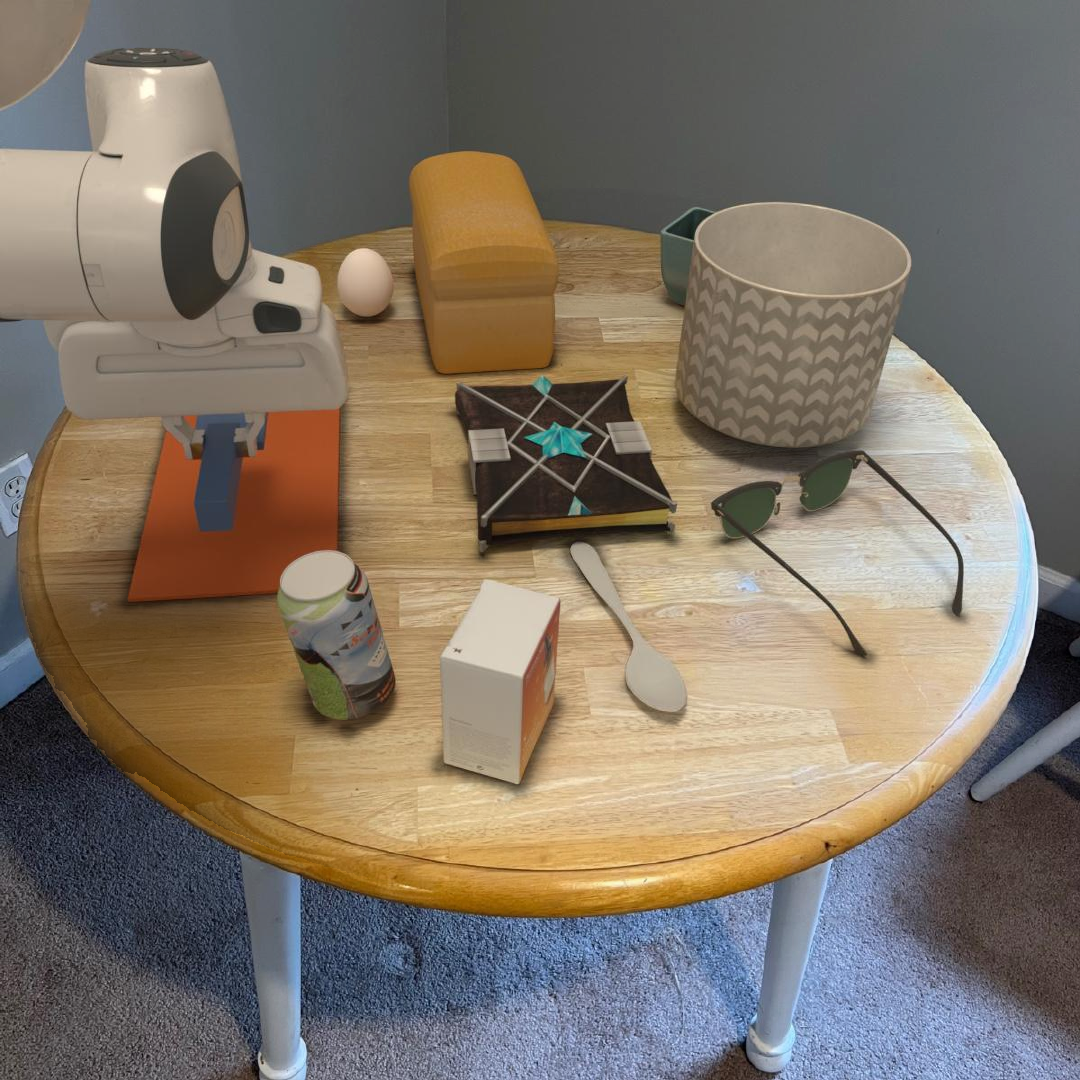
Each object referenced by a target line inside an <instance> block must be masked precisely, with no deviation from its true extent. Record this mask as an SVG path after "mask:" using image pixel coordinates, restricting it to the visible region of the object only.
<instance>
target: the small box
mask: <svg viewBox="0 0 1080 1080" xmlns="http://www.w3.org/2000/svg"><path fill="white" fill-rule="evenodd" d="M561 604H562V603H561V598H560V597H557V596H554V595H550V594H547V593H543V592H539V591H534V590H530V589H527V588H523V587H519V586H515V585H512V584H507V583H504V582H500V581H496V580H493V579H488V578H484V579H483V580H482V582H481V584H480V585H479V588H478V590H477V592H476V594H475V596H474V597H473V599H472V602H471V603H470V605H469V606H468V609H467V610H466V612H465V614H464V616H463V618H461V621H460V623H459V624H458V626H457V628H456V629H455V631H454V634H453V635H452V636H451V637H450V640H449V641H448V643H447V644H446V645H445V647H444V648H443V650H442V651H441V653H440V655H439V669H440V700H441V728H442V730H441V731H442V752H443V753H442V755H443V756H442V757H443V763H444V764H446V765H449V766H453V767H456V768H460V769H464V770H467V771H471V772H474V773H478V774H482V775H485V776H488V777H491V778H495V779H498V780H502V781H505V782H509V783H511V784H512V783H513V784H515V785H519V784H520V783H521V781H522V779H523V776H524V773H525V770H526V769H527V766H528V763H529V761H530V759H531V756H532V754H533V751H534V749H535V747H536V745H537V743H538V740H539V738H540V736H541V733H542V732H543V729H544V727H545V725H546V722H547V720H548V718H549V716H550V714H551V711H552V709H553V706H554V703H555V686H556V672H557V657H558V645H559V644H558V643H559V630H560V629H559V628H560V615H561Z"/></svg>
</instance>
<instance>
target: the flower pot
mask: <svg viewBox="0 0 1080 1080" xmlns="http://www.w3.org/2000/svg"><path fill="white" fill-rule="evenodd" d="M716 212H717V211H714V210H710V209H706V208H703V207H698V206H693V207H691V208H689V209H688V210H687V211H685V212H684V213H682V215H681V216H679V217H678V218H677V219H675V220H674V221H672V222H670V223H669V224H668V225H666V226H665V227H664V228H663V229H661V231H660V273H661V278H662V282H663V285H664V288H665V290H666V292H667V294H668V296H669V298H670V299H671V301H672V302H673V303H674V304H678V305H681V306H683V307H685V302H686V294H687V287H688V280H689V272H690V265H691V258H692V250H693V243H694V236H695V232H696V229H697V228H698V226H699V225H700V223H701V222H702V221H703V220H705V219H706V218H707V217H709V216H711V215H712V214H714V213H716Z"/></svg>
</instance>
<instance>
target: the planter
mask: <svg viewBox="0 0 1080 1080" xmlns="http://www.w3.org/2000/svg"><path fill="white" fill-rule="evenodd" d="M715 212H716V213H714V214H712V215H711V216H709V217H707V218H706V219H705V220H703V221H702V222H701V223H700V225H699V226H698V228H697V229H696V232H695V236H694V243H693V250H692V258H691V265H690V272H689V280H688V287H687V294H686V302H685V306H684V310H683V317H682V325H681V330H680V331H681V332H680V339H679V346H678V353H677V361H676V367H675V369H676V370H675V375H674V376H675V377H674V389H675V392H676V396H677V397H678V399H679V401H680V402H681V404H682V405H683V407H684V408H685V409H686V410H687V411H688V412H689V413H690V414H691V415H692V416H694V417H695V418H696V419H697V420H699V421H700V422H702V423H703V424H704V425H706V426H708V427H709V428H711V429H713V430H715V431H717V432H719V433H721V434H724V435H727V436H729V437H732V438H734V439H737V440H740V441H745V442H748V443H752V444H757V445H762V446H768V447H776V448H813V447H819V446H825V445H828V444H833V443H837V442H840V441H842V440H844V439H846V438H849V437H850V436H852V435H854V434H856V433H857V432H858V431H859V430H860V429H862V428H863V427H864V425H865V424H866V423H867V422H868V420H869V418H870V416H871V413H872V410H873V406H874V403H875V399H876V395H877V391H878V388H879V385H880V380H881V377H882V373H883V370H884V368H885V367H884V366H885V362H886V359H887V354H888V352H889V348H890V346H891V341H892V337H893V334H894V331H895V330H894V329H895V326H896V323H897V319H898V316H899V312H900V307H901V306H902V305H901V304H902V301H903V298H904V294H905V290H906V287H907V284H908V280H909V276H910V272H911V268H912V256H911V254H910V251H909V250H908V248H907V246H906V245H905V243H903V242H902V241H901V239H900V238H899V237H898V236H896V235H894V234H893V233H892V232H891V231H889V230H888V229H886V228H885V227H883V226H881V225H879V224H877V223H875V222H873V221H871V220H869V219H866V218H865V217H864V218H863V217H861V216H859V215H856V214H853V213H850V212H847V211H843V210H839V209H836V208H832V207H828V206H827V207H826V206H821V205H815V204H808V203H799V202H788V201H785V202H784V201H766V202H765V201H763V202H753V203H752V202H751V203H745V204H739V205H735V206H731V207H727V208H724V209H721V210H719V211H715Z"/></svg>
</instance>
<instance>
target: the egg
mask: <svg viewBox="0 0 1080 1080" xmlns="http://www.w3.org/2000/svg"><path fill="white" fill-rule="evenodd" d="M336 279H337V281H336V282H337V283H336V285H337V293H338V296H339V298H340V300H341V303H342V304H343V305H344V306H345V308H347V309H348V311H350V312H351V313H353V314H355V315H357V316H360V317H373V316H377V315H379V314H380V313H382V312H383V311H384V310H385V309H386V308H387V307H388V305H389V304H390V303H391V300H392V298H393V295H394V289H395V287H394V277H393V274H392V271H391V268H390V266H389V265H388V262H386V260H385V259H384V257H382V255H381V254H380V253H378V252H377V251H375V250H373V249H370V248H365V247H361V248H357V249H355V250H352V251H351V252H350V253H348V254H347V255H346V257H345V258H344V259H343V261H342V263H341V265H340V268H339V270H338V273H337V278H336Z"/></svg>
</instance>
